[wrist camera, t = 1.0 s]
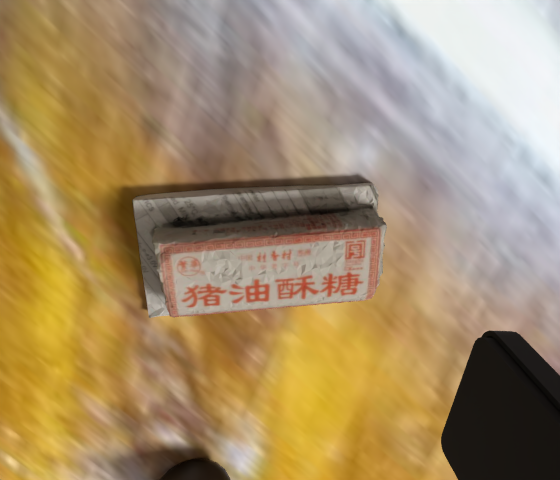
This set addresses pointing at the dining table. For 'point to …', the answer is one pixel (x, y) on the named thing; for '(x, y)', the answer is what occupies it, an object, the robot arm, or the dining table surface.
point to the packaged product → (258, 247)
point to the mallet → (197, 471)
